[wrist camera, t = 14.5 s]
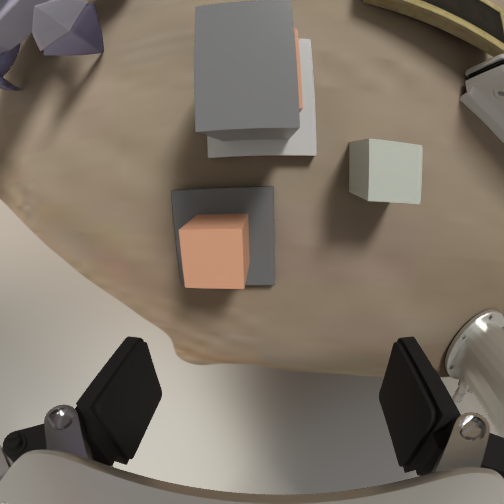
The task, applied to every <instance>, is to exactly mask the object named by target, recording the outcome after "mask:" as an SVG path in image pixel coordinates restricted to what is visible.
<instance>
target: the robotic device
mask: <svg viewBox="0 0 504 504" xmlns="http://www.w3.org/2000/svg"><path fill="white" fill-rule="evenodd" d="M87 2H88V1H83V0H0V53H1V55H0V88H1V89H5V90H15V91H18V90H22V89H20V88H18V87H16V86H14V85H12V84H11V83H9V82H8V81H7V80H5V79H4V78H3V76H4V75H5V74H6V73H7V72H8V71H9V70H10V67H11V66H12V65H13V63H14V61H15V59H16V57H17V53H18V52H19V48H20V44H21V42H22V41H24V40H25V39H26V38H27V37H28V36H29V35H30V34H31V33H32V34H33V37H34V39H35V41H36V43H37V45H38V47H39V49H40V51H42V50H44V54H43V55H87V54H96V53H103V52H104V46H103V38H102V32H101V28H100V24H99V20H98V16H97V13H96V9H95V5H94V3H91V4H87Z"/></svg>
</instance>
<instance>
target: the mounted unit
mask: <svg viewBox="0 0 504 504" xmlns="http://www.w3.org/2000/svg"><path fill="white" fill-rule="evenodd" d="M194 96H195V132H197V133H200V134H203V135H206V136H207V145H208V158H218V157H238V156H275V155H299V156H316V119H315V97H314V80H313V65H312V53H311V42H310V39H298V29H296V28H294V22H293V12H292V2H291V0H258V1H240V2H228V3H219V4H211V5H204V6H197V7H196V9H195V46H194Z"/></svg>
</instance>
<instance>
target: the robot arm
mask: <svg viewBox="0 0 504 504" xmlns="http://www.w3.org/2000/svg"><path fill="white" fill-rule="evenodd" d="M445 368H446V371H447V372H448V374H449V375H450V376H451V377H452V378H455V379H459V383H458V385H459V387H458V389H457V390H456V392H455V394H454V396H453V400H452V398H451V396H450V394H449V393H448V391H447V389H446V387H445V385H444V384H443V382H442V380H441V378H440V377H439V375H438V373H437V372H436V370H435V369H434V368H433V366H432V365H431V363H430V361H429V360H428V358H427V357H426V355H425V353H424V352H423V350H422V349H421V347H420V345H419V344H418V342H417V341H416V339H415V338H414V337H404V338H399V339H398V341H397V342H395V343H394V344H393V347H392V351H391V355H390V359H389V363H388V366H387V370H386V373H385V376H384V380H383V383H382V386H381V389H380V393H379V400H380V403H381V406H382V410H383V413H384V416H385V419H386V422H387V425H388V429H389V432H390V436H391V439H392V442H393V446H394V449H395V453H396V457H397V460H398V463H399V465H400V466H401V467H402V466H403V468H404V471H405V473H406V472H410V471H413V470H416V473H417V475H418V476H417V477H415V478H411V479H407V480H403V481H398V482H394V483H389V484H384V485H379V486H373V487H367V488H361V489H355V490H347V491H339V492H330V493H317V494H299V495H298V494H296V495H265V494H245V493H232V492H223V491H215V490H207V489H201V488H195V487H189V486H183V485H178V484H173V483H168V482H164V481H160V480H155V479H151V478H148V477H144V476H140V475H137V474H134V473H130V472H127V471H123V470H120V469H117V468H114V467H113V463H114V461H116V462H119V463H122V464H127V463H128V461H129V459H132V458H133V457H134V455H135V453H136V451H137V449H138V447H139V444H140V442H141V440H142V438H143V436H144V434H145V431H146V429H147V427H148V425H149V423H150V420H151V419H152V416H153V414H154V412H155V410H156V408H157V406H158V404H159V402H160V400H161V397H162V390H161V387H160V384H159V381H158V378H157V375H156V372H155V369H154V365H153V362H152V359H151V355H150V352H149V349H148V345H147V343H146V342H144V341H143V339H141V338H137V337H127V338H126V339H125V340H124V341H123V343H122V344H121V345H120V346H119V348H118V349H117V350H116V351H115V353H114V354H113V355H112V357H111V358H110V359H109V360H108V362H107V363H106V364H105V366H104V367H103V368H102V370H101V371H100V372H99V373H98V375H97V376H96V377H95V379H94V380H93V381H92V383H91V384H90V385H89V387H88V388H87V389H86V391H85V392H84V393H83V395H82V396H81V398H80V399H79V400H78V402H77V403H76V404H77V407H76V408H75V409H74V408H73V407H71V406H69V405H59V406H56V407H54V408H52V409H51V410H50V411H49V412H48V413H47V414H46V416H45V420H44V424H41V425H37V426H34V427H30V428H26V429H23V430H18V431H14V432H12V433H10V434H9V435H7V437H6V438H5V440H4V442H3V447H1V446H0V504H504V316H503V315H502V314H501V313H500V312H498V311H497V310H493V309H492V310H486V311H484V312H481V313H480V314H478V315H476V316H475V317H473V318H472V319H471V320H470V321H469V322H468V323H467V324H465V325H464V327H463V328H462V329H461V330H460V331H459V332H458V334H457V335H456V337H455V338H454V340H453V341H452V343H451V345H450V347H449V349H448V351H447V355H446V358H445ZM466 391H468V392H469V393H474V395H475V397H476V398H477V400H478V401H479V403H480V405H481V406H482V408H483V409H484V411H485V413H486V414H487V416H488V418H489V420H490V421H491V423H492V425H493V426H494V428H495V430H496V432H497V434H498V435H499V436H497V435H494V434H491V433H490V426H489V423H488V422H487V420H486V419H485V418H484V417H483V416H482V415H480V414H478V413H472V412H471V413H465V414H463V415H461V414H460V413H459V411H458V409H457V407H456V405H455V403H454V401H455V402H457V403H458V402H461V401H462V399H463V397H464V395H465V393H466Z"/></svg>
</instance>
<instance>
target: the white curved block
mask: <svg viewBox="0 0 504 504" xmlns="http://www.w3.org/2000/svg"><path fill="white" fill-rule="evenodd" d="M465 75H466V76H467V77H468V78H469V79H468V80H466V81H465V84H466V89H467V93H465V94H463V95H462V96H460V101H461V102H462V103H464V104H465V105H466V106H467V107H468V108H469V109H470V110H471V111H472V112H473V113H474V114H475V115H476V116H478V117H479V118H480V119H481V120H482V121H483V122H484V123H485V124H486V125H487V126H488V127H489V129H490V130H491V131H492V132H493V133H494V134H495V135H496V136H497V137H498V138H499V139H500V140H501V141H502V143H503V144H504V54H500V55H497V56H495V57H493V58H491V59H488V60H486V61H484V62H482V63H480V64H478V65H476V66H474V67H471V68H469V69H467V70H466V72H465Z"/></svg>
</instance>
